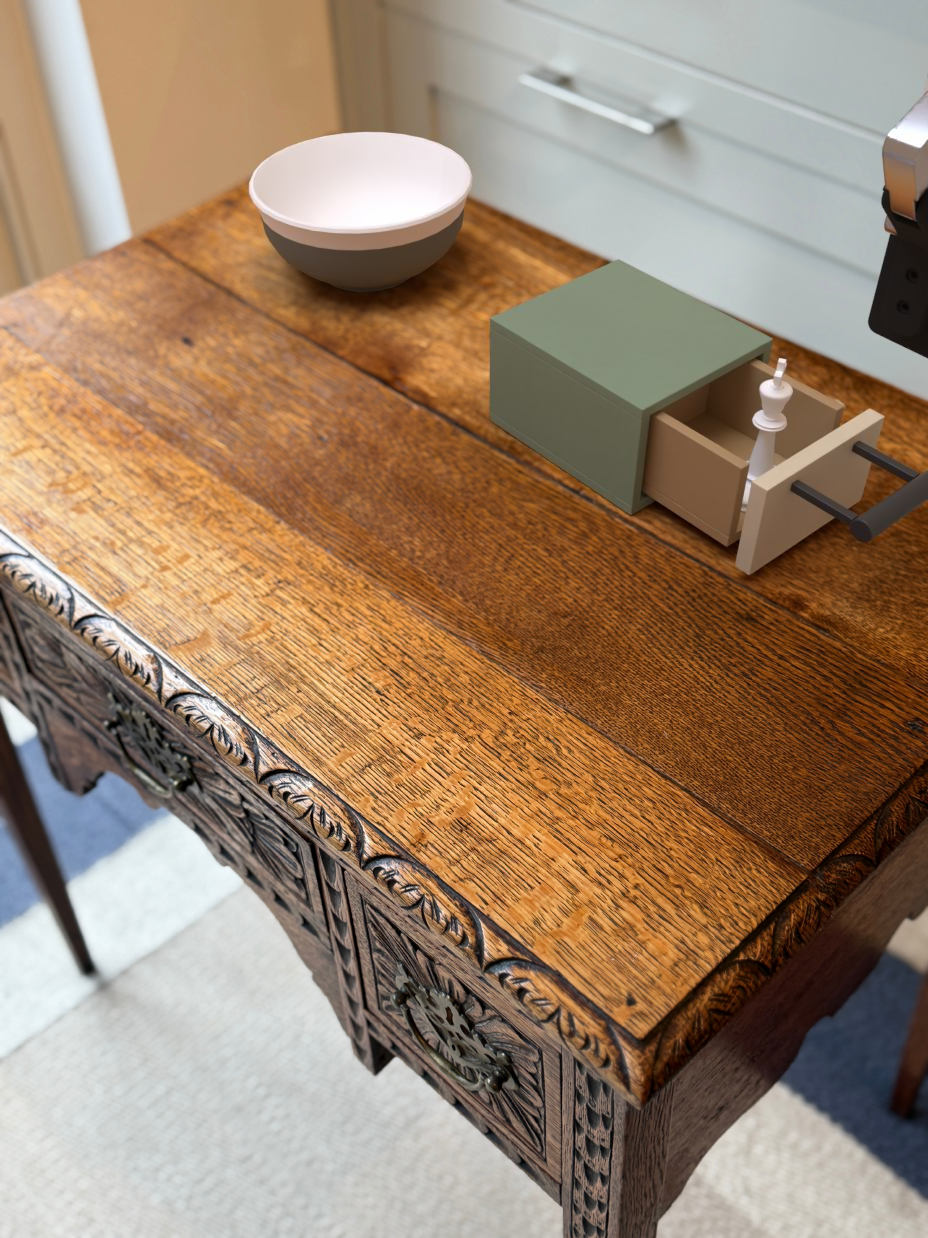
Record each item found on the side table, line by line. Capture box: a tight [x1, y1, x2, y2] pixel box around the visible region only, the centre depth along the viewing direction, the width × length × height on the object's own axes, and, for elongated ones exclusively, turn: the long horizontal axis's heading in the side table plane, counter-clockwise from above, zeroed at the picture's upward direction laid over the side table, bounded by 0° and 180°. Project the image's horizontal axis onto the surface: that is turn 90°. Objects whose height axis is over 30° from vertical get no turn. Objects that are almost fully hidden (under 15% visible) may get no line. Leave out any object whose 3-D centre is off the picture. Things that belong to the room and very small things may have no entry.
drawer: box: [641, 358, 928, 576], centre depth 76 cm, size 19×11×7 cm, turn 40°
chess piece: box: [741, 357, 793, 512], centre depth 75 cm, size 5×5×10 cm
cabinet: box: [489, 259, 774, 516], centre depth 83 cm, size 15×13×9 cm
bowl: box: [248, 131, 474, 293], centre depth 101 cm, size 19×19×8 cm
